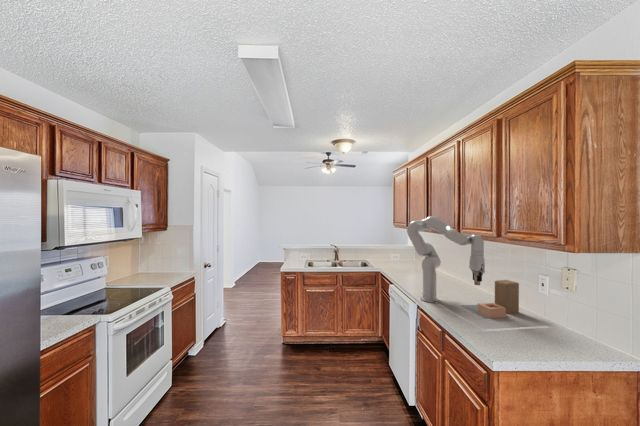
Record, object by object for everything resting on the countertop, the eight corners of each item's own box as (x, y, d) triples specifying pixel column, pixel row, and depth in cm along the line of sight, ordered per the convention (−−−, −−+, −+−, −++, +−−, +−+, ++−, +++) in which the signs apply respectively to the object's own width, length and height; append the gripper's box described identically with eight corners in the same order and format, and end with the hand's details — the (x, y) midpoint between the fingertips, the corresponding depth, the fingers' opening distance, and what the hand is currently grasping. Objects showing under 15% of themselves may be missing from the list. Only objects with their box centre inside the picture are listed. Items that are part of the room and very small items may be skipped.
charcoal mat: (459, 306, 209) (459, 305, 209) (482, 305, 211) (482, 304, 211) (485, 320, 183) (485, 318, 183) (511, 318, 185) (511, 317, 185)
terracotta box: (477, 312, 195) (477, 303, 195) (493, 311, 196) (493, 302, 196) (489, 318, 184) (489, 308, 184) (505, 317, 185) (506, 308, 185)
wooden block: (505, 309, 204) (505, 279, 204) (519, 314, 194) (519, 282, 194) (493, 310, 201) (494, 280, 201) (507, 315, 191) (507, 283, 191)
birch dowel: (473, 284, 205) (473, 269, 205) (477, 283, 206) (478, 269, 206) (476, 285, 201) (476, 270, 201) (481, 285, 202) (481, 270, 202)
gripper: (464, 251, 211) (464, 278, 211) (480, 255, 195) (480, 283, 195) (474, 251, 212) (474, 277, 212) (491, 254, 196) (491, 283, 196)
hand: (477, 280), depth 203 cm, fingers closed on birch dowel, 3 cm apart
